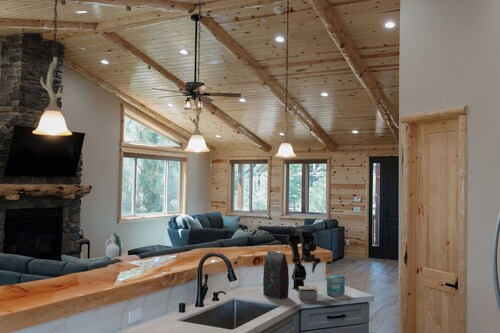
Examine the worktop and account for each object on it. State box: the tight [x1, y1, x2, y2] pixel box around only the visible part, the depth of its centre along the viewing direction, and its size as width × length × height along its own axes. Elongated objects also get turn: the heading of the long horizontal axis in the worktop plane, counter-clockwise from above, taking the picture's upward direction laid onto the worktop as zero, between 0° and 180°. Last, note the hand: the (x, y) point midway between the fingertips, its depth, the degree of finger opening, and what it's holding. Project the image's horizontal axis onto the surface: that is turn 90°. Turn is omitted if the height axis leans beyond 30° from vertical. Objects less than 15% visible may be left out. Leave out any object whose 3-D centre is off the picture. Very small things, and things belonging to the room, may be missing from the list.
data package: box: [326, 274, 346, 297], centre depth 294 cm, size 12×4×12 cm, turn 124°
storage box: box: [298, 289, 318, 302], centre depth 280 cm, size 8×10×6 cm
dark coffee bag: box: [262, 250, 290, 300], centre depth 289 cm, size 8×16×28 cm, turn 41°
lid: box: [298, 285, 318, 291], centre depth 280 cm, size 8×10×1 cm
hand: (305, 273), depth 298 cm, fingers open, 9 cm apart
